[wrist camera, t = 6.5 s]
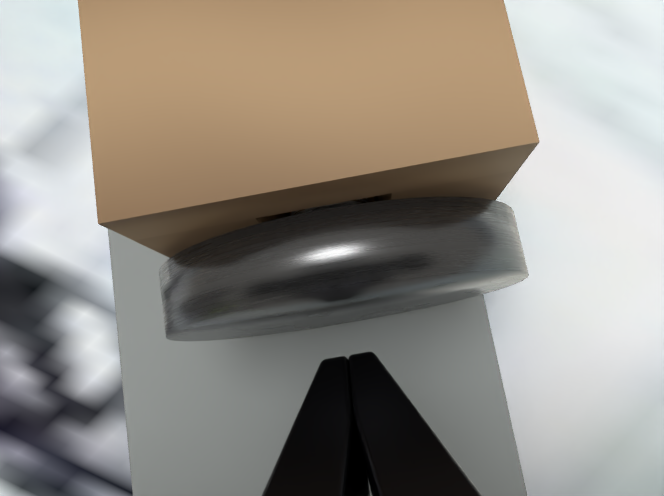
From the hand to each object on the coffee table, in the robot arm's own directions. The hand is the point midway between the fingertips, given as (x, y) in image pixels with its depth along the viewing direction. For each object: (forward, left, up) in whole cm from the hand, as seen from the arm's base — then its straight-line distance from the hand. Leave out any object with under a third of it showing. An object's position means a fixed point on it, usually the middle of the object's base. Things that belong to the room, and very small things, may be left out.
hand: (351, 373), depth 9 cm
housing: (+6, -4, -6) cm, 10 cm away
